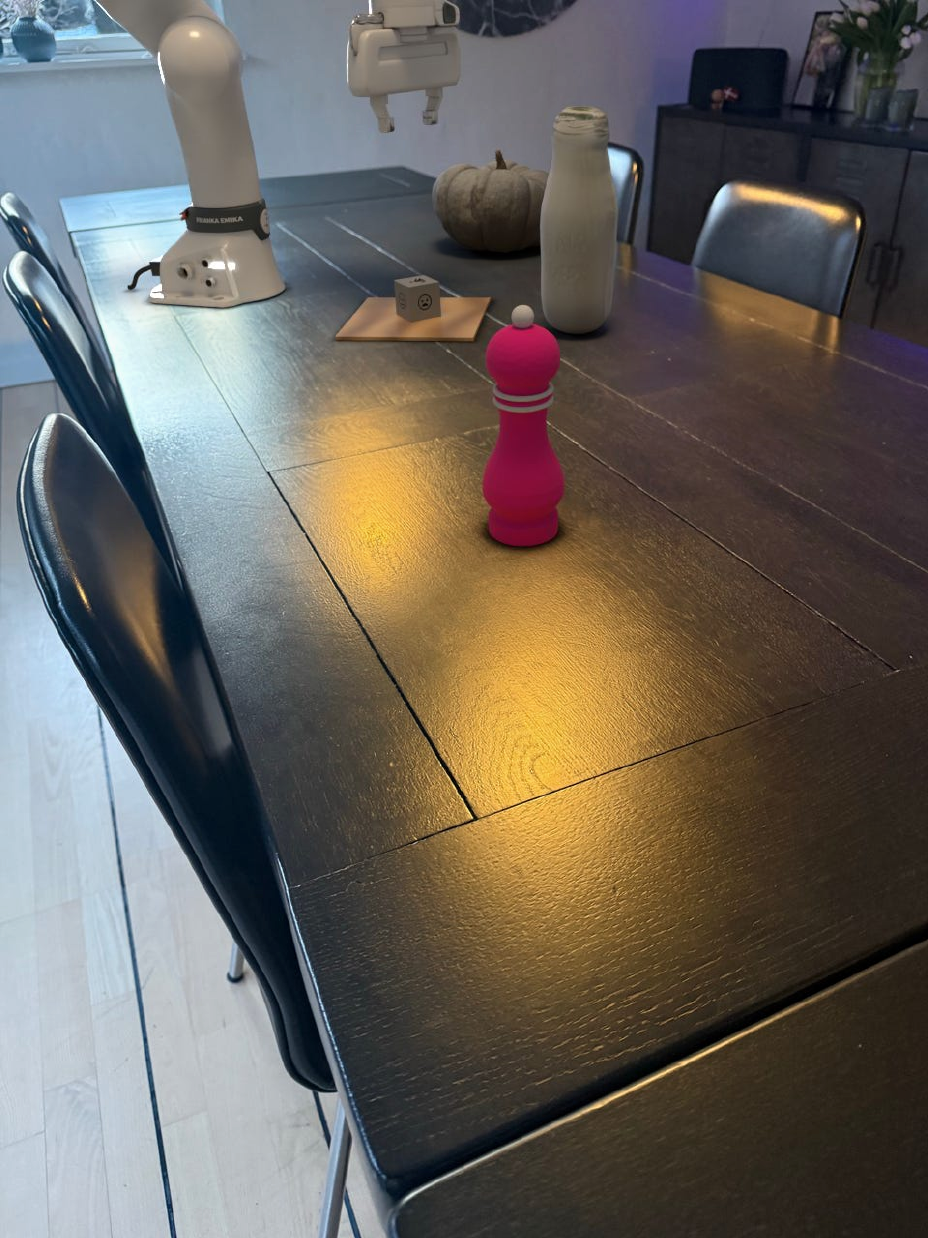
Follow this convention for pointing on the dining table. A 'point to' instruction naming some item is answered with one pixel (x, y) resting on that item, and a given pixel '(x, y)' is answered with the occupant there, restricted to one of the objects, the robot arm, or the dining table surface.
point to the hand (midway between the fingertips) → (409, 128)
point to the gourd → (491, 205)
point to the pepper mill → (523, 434)
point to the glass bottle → (578, 223)
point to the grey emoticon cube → (417, 298)
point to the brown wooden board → (385, 325)
